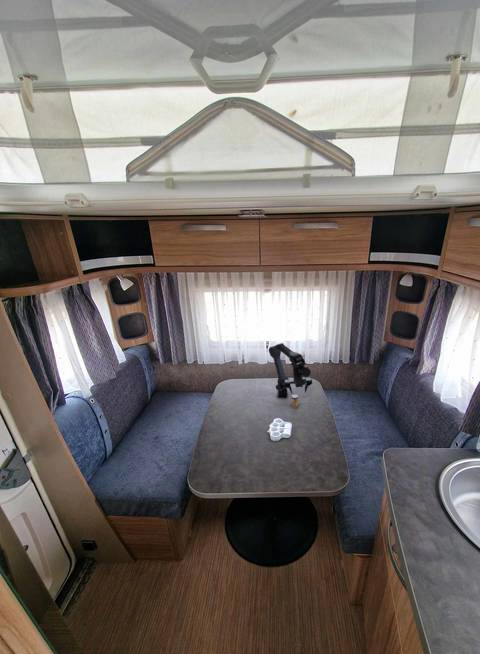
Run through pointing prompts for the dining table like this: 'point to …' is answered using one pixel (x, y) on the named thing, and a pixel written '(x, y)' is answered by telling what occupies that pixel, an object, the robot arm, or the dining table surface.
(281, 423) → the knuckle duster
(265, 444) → the dining table surface
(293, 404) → the spice jar
